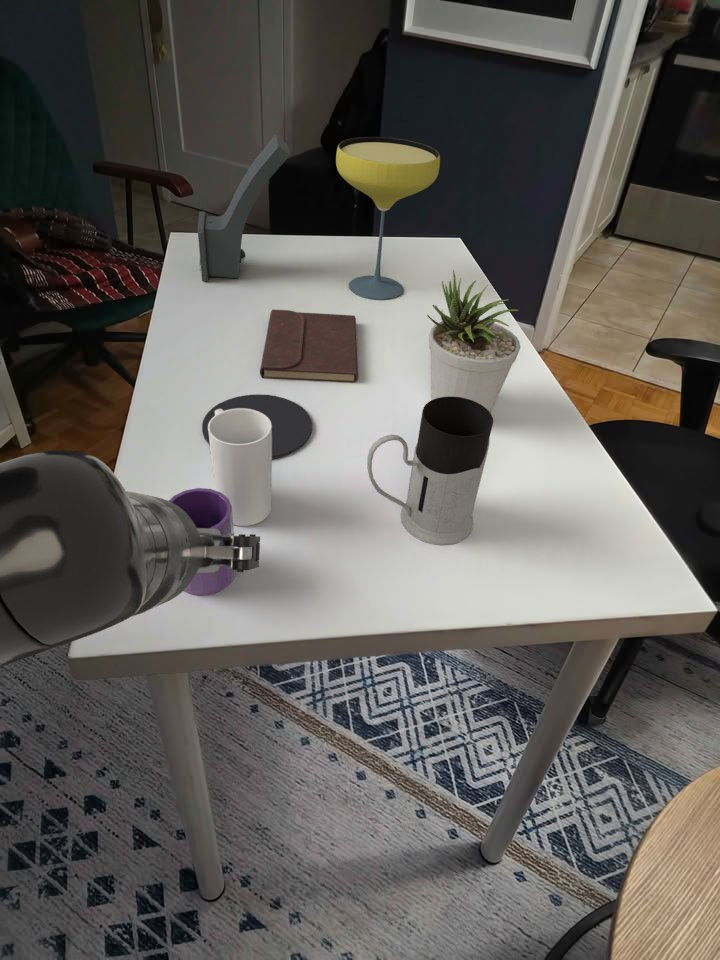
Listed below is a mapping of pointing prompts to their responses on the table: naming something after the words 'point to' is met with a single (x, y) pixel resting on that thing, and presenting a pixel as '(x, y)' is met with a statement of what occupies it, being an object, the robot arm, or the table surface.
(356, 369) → the notebook
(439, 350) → the potted plant
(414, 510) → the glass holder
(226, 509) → the cup
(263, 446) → the mug
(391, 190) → the cocktail glass
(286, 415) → the mat
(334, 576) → the table surface
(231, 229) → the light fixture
